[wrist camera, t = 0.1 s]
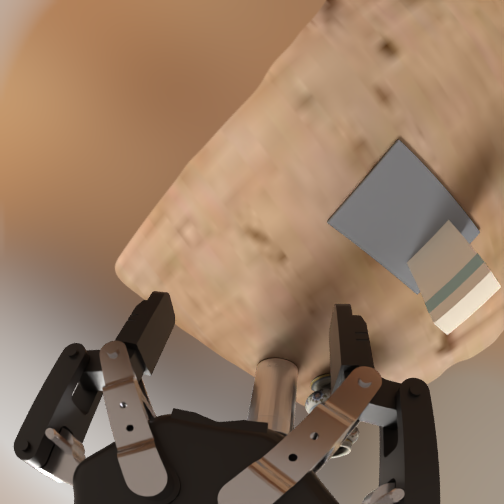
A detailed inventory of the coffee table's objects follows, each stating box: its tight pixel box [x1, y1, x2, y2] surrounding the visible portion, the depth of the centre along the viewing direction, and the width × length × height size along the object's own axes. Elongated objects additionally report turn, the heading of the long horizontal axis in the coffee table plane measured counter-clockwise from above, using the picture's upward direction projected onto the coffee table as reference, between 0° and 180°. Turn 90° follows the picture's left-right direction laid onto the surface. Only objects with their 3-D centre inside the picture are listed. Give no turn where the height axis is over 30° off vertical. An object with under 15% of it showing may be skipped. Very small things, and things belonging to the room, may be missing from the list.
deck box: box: [407, 220, 501, 335], centre depth 35 cm, size 4×10×14 cm, turn 147°
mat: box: [327, 139, 480, 294], centre depth 40 cm, size 22×16×1 cm
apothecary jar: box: [305, 373, 359, 458], centre depth 55 cm, size 12×12×18 cm
